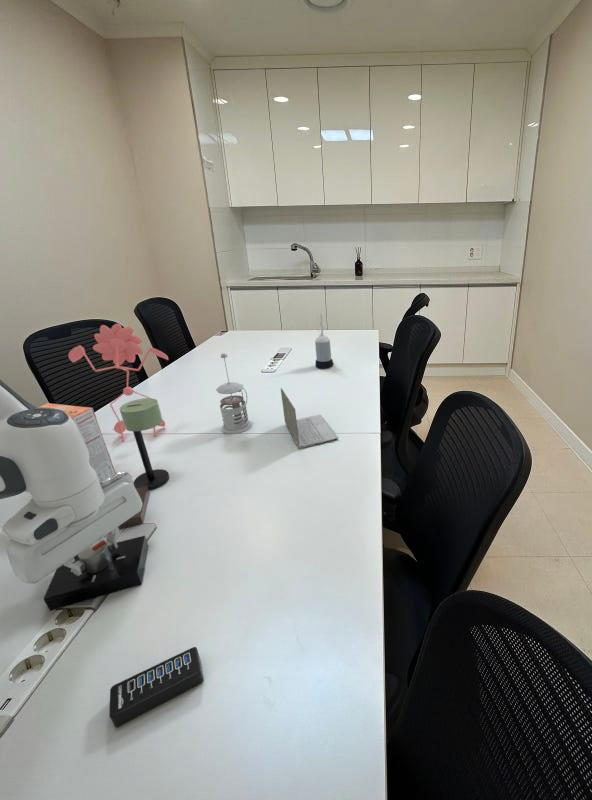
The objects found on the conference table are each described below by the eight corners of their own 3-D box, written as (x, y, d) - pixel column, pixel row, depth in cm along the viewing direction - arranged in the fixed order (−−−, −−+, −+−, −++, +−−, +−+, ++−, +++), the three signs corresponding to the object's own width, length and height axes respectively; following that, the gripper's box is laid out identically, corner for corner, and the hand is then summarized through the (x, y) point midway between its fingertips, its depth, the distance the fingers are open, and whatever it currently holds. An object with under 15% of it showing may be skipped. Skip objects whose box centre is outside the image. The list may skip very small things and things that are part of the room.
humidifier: (336, 366, 180) (332, 312, 170) (319, 370, 177) (315, 315, 166) (329, 362, 187) (325, 310, 177) (313, 365, 183) (308, 312, 173)
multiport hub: (204, 682, 55) (200, 671, 54) (114, 729, 50) (108, 718, 49) (199, 655, 58) (196, 645, 57) (115, 696, 53) (110, 686, 52)
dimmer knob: (93, 577, 69) (86, 561, 67) (79, 568, 70) (72, 552, 69) (117, 559, 72) (111, 544, 71) (103, 551, 74) (97, 536, 72)
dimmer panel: (49, 611, 66) (42, 598, 65) (67, 567, 74) (61, 555, 73) (141, 584, 70) (137, 571, 69) (148, 546, 79) (144, 534, 78)
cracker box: (54, 485, 99) (23, 412, 91) (76, 472, 105) (48, 401, 96) (99, 492, 96) (70, 417, 88) (118, 478, 102) (93, 406, 93)
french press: (214, 431, 124) (198, 357, 114) (236, 416, 134) (223, 346, 124) (241, 435, 121) (227, 359, 111) (261, 419, 131) (250, 348, 121)
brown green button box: (67, 544, 80) (60, 529, 79) (83, 507, 91) (78, 493, 89) (142, 525, 85) (138, 510, 83) (150, 492, 95) (145, 479, 94)
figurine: (184, 433, 124) (156, 324, 109) (91, 447, 117) (49, 333, 103) (189, 413, 137) (165, 314, 123) (106, 425, 130) (71, 322, 116)
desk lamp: (132, 494, 95) (106, 416, 86) (137, 477, 102) (113, 402, 93) (176, 484, 98) (155, 408, 90) (178, 468, 105) (159, 396, 96)
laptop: (338, 439, 117) (336, 400, 112) (298, 449, 113) (293, 409, 108) (321, 416, 132) (317, 380, 127) (284, 424, 128) (280, 387, 123)
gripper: (116, 463, 75) (135, 519, 81) (-12, 534, 58) (23, 599, 64) (139, 470, 73) (157, 527, 78) (12, 545, 56) (47, 612, 61)
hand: (96, 560), depth 71 cm, fingers closed on dimmer knob, 4 cm apart
